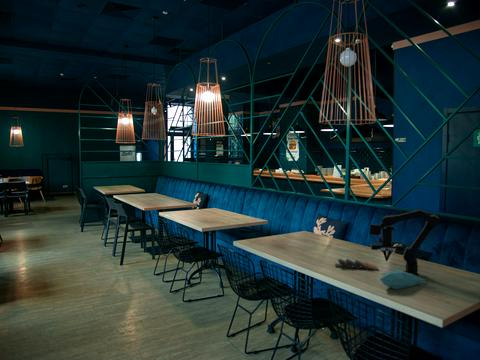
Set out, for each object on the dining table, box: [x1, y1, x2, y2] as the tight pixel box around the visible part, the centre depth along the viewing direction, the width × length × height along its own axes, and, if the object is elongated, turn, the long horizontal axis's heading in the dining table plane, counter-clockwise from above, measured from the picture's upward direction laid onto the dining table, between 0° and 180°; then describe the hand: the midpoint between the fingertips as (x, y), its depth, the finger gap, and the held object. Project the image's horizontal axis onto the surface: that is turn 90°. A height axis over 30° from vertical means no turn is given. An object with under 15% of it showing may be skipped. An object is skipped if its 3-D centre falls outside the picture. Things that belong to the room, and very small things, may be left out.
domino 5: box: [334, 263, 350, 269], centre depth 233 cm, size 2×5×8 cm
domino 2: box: [354, 259, 370, 270], centre depth 230 cm, size 2×5×8 cm
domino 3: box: [345, 258, 361, 270], centre depth 231 cm, size 2×5×8 cm
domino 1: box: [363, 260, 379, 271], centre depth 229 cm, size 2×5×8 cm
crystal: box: [379, 269, 426, 290], centre depth 199 cm, size 10×34×10 cm, turn 110°
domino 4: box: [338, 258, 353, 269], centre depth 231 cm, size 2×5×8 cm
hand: (386, 260), depth 226 cm, fingers closed
